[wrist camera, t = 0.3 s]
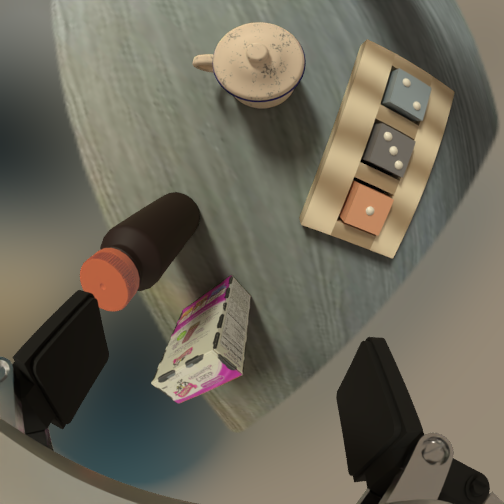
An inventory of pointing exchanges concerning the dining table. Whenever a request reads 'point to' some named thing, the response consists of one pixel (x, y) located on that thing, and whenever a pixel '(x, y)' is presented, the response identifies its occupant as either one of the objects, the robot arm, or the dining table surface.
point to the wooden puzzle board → (353, 145)
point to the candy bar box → (206, 343)
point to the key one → (365, 208)
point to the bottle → (139, 250)
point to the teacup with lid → (256, 64)
